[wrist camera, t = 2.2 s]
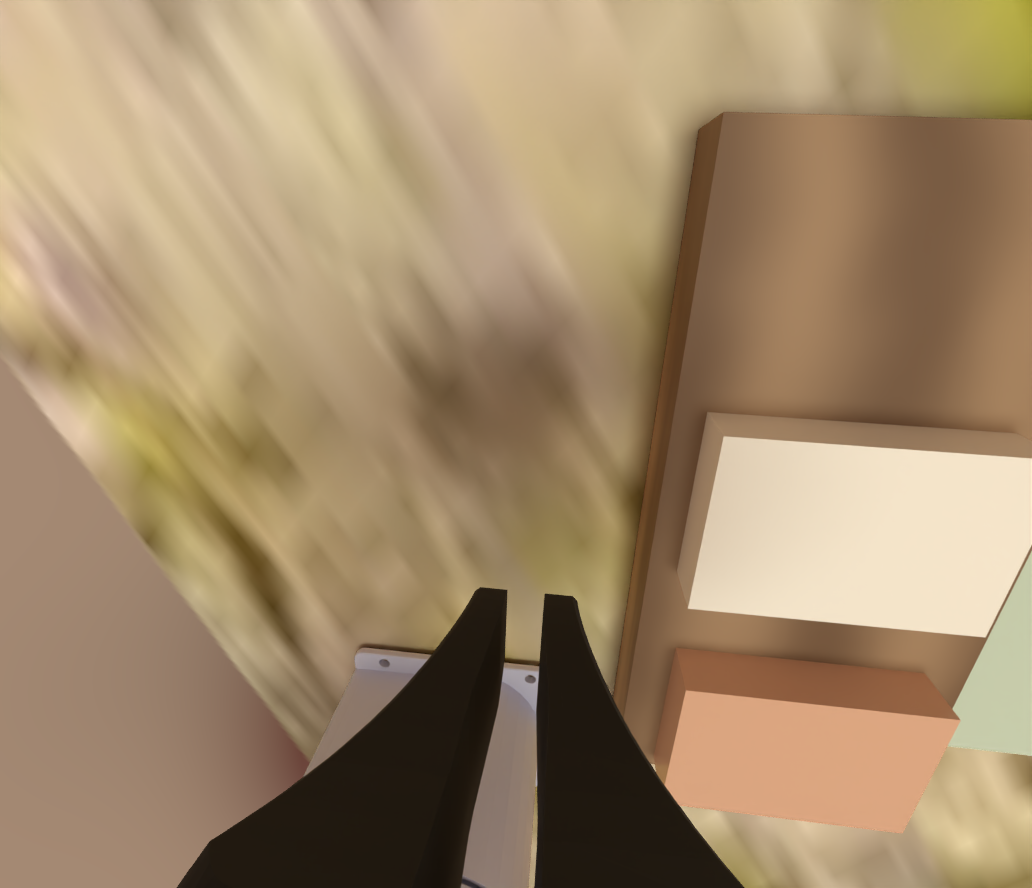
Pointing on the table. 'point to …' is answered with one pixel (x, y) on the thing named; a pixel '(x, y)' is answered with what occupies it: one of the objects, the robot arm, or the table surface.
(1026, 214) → the board
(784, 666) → the tile
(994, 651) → the mat
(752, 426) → the tile
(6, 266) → the table surface
